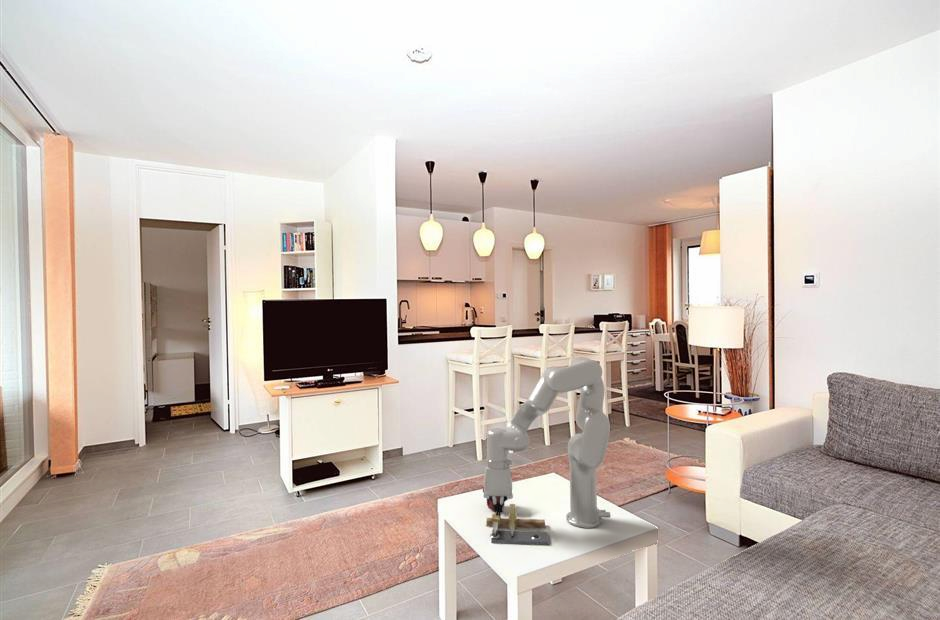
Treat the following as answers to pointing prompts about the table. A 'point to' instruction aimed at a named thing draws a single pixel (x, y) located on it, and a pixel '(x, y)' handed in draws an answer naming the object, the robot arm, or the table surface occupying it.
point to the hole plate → (520, 537)
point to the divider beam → (525, 523)
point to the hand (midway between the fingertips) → (498, 514)
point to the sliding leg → (512, 519)
